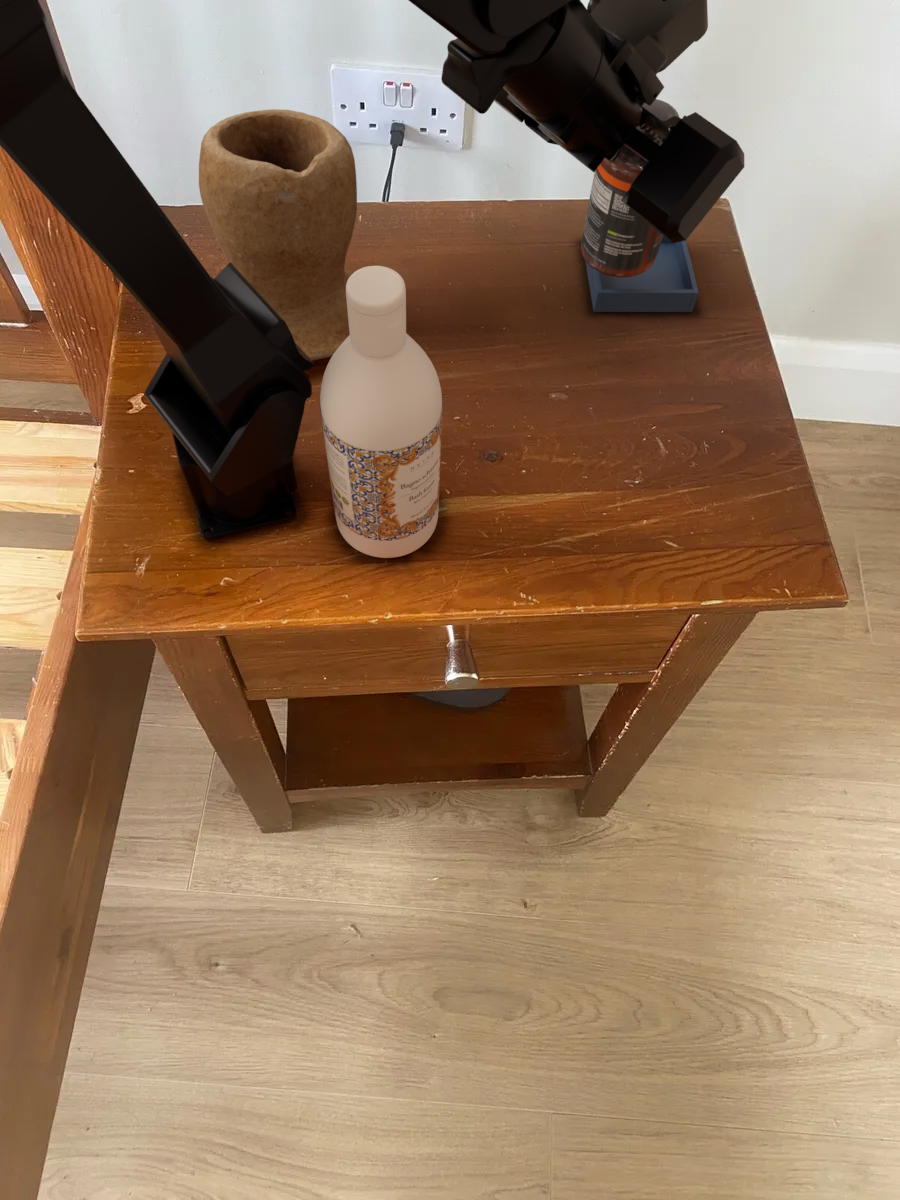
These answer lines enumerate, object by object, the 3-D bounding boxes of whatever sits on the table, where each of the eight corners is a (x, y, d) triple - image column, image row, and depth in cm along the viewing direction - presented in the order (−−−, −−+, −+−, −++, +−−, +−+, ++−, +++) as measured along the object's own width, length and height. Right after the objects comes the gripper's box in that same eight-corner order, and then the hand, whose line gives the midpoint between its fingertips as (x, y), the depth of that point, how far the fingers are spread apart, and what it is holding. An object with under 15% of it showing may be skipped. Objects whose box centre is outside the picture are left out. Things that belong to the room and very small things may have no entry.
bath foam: (383, 580, 58) (368, 359, 40) (315, 516, 60) (274, 280, 43) (459, 521, 60) (476, 288, 43) (391, 461, 63) (381, 217, 45)
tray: (593, 312, 71) (597, 292, 69) (582, 244, 75) (586, 224, 73) (692, 312, 71) (698, 292, 69) (676, 245, 75) (682, 224, 73)
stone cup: (361, 260, 73) (349, 77, 60) (391, 365, 67) (385, 189, 54) (174, 286, 71) (119, 102, 57) (189, 396, 65) (132, 221, 52)
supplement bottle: (646, 228, 70) (685, 86, 60) (662, 280, 67) (706, 140, 58) (573, 230, 70) (600, 88, 60) (585, 283, 67) (616, 142, 57)
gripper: (782, -1, 44) (835, 135, 57) (539, -149, 50) (636, 3, 64) (631, 199, 48) (713, 282, 61) (426, 37, 55) (539, 144, 68)
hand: (649, 171), depth 63 cm, fingers closed on supplement bottle, 6 cm apart
